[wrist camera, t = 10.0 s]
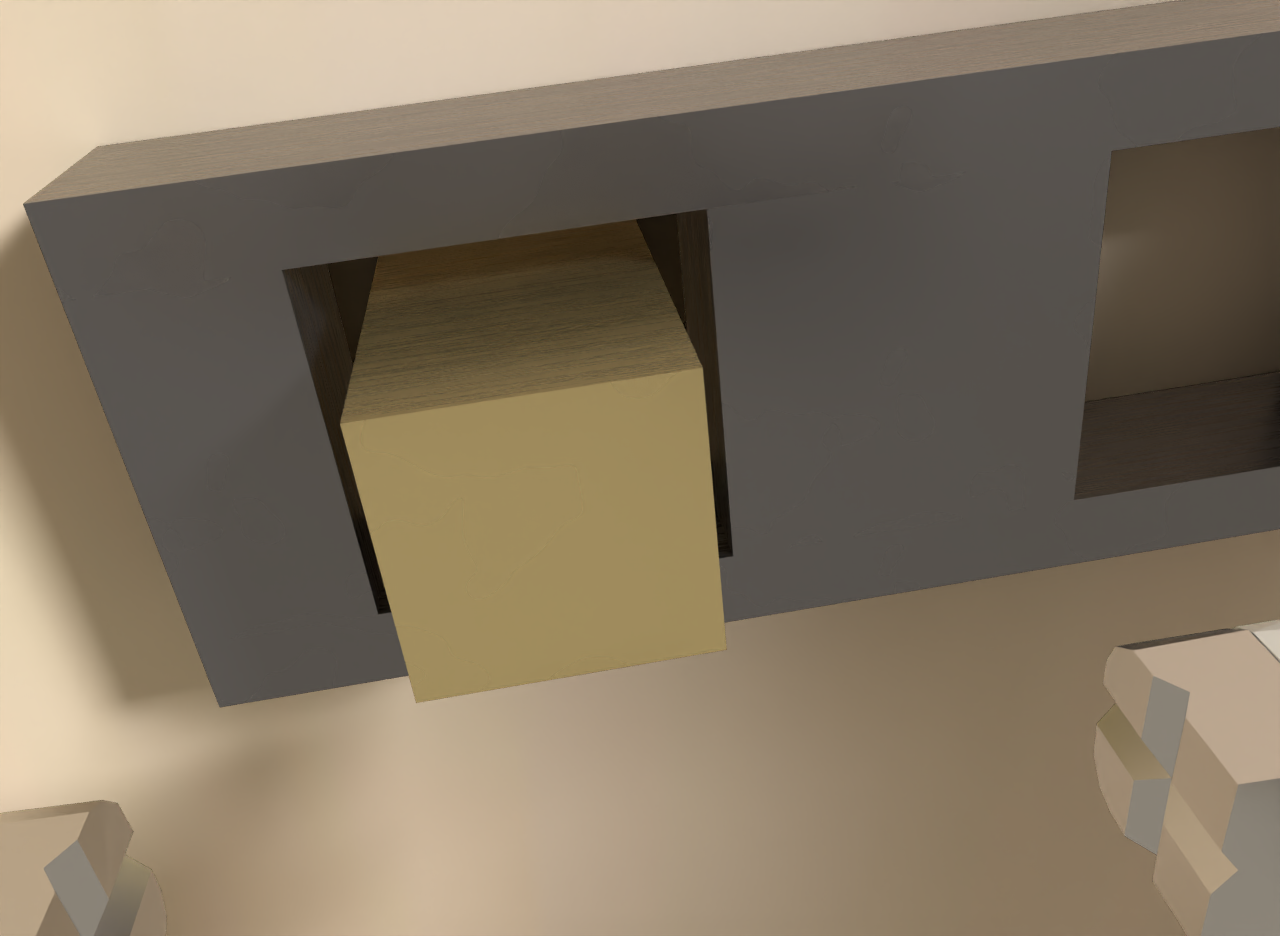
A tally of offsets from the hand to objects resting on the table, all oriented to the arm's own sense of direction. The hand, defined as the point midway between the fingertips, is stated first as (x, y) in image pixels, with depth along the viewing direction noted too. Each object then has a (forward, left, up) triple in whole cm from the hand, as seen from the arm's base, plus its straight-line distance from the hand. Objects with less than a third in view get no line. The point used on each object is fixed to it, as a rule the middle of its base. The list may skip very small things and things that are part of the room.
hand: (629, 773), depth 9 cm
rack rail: (-5, 0, -10) cm, 11 cm away
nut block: (+1, 0, -10) cm, 10 cm away
